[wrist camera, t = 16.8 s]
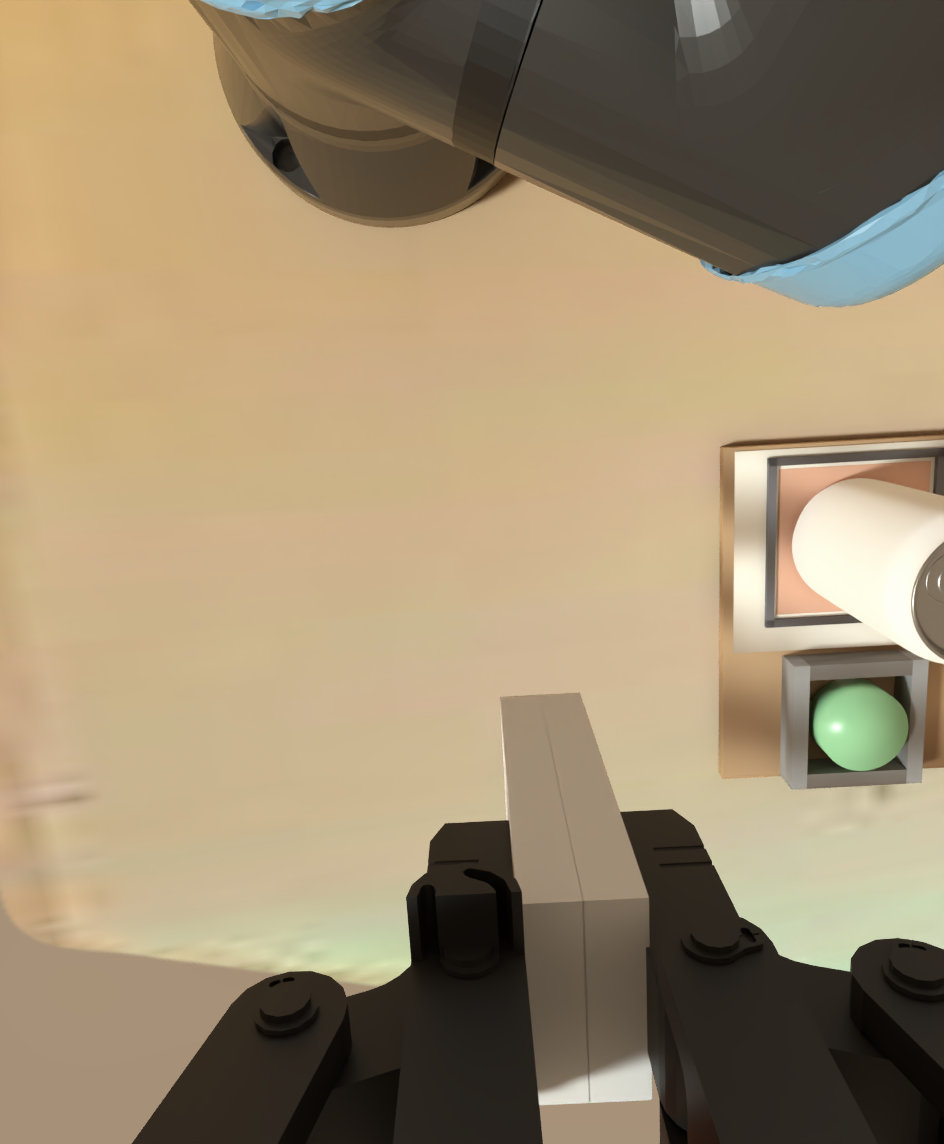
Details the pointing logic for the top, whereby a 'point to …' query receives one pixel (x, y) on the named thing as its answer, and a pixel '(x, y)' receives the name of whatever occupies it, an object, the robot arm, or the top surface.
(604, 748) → the top surface
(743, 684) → the tan rectangular board
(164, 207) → the top surface
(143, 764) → the top surface
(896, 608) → the can
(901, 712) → the button
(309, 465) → the top surface
